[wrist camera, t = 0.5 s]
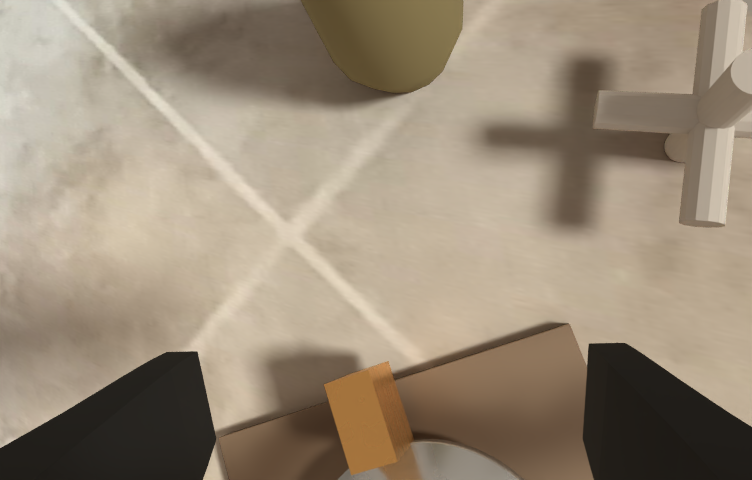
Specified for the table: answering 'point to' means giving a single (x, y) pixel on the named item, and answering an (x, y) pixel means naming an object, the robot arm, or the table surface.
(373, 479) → the disc with block handle
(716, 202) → the pipe connector
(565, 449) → the flat brown board
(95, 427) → the robot arm
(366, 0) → the squeeze bottle
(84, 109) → the table surface
